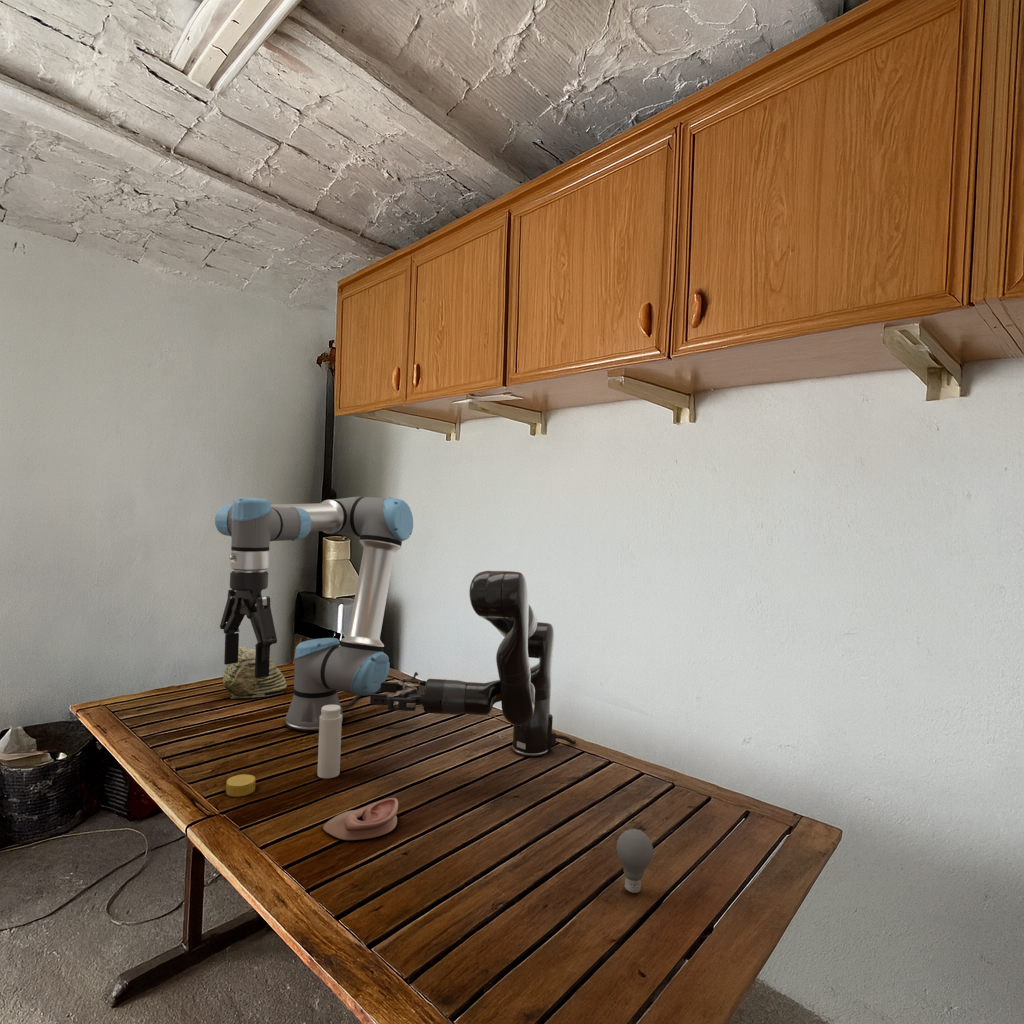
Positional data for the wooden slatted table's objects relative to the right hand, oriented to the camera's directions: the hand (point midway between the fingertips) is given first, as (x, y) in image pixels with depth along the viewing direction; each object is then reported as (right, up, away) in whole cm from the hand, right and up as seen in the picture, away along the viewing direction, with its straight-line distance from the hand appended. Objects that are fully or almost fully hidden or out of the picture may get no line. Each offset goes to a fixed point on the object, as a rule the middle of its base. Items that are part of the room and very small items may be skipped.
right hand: (375, 692), depth 144 cm
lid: (-27, -16, -9) cm, 33 cm away
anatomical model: (+2, -20, -22) cm, 29 cm away
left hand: (-26, +8, -9) cm, 28 cm away
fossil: (-50, -16, +54) cm, 75 cm away
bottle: (-11, -19, +1) cm, 22 cm away
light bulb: (+51, -22, -38) cm, 68 cm away
